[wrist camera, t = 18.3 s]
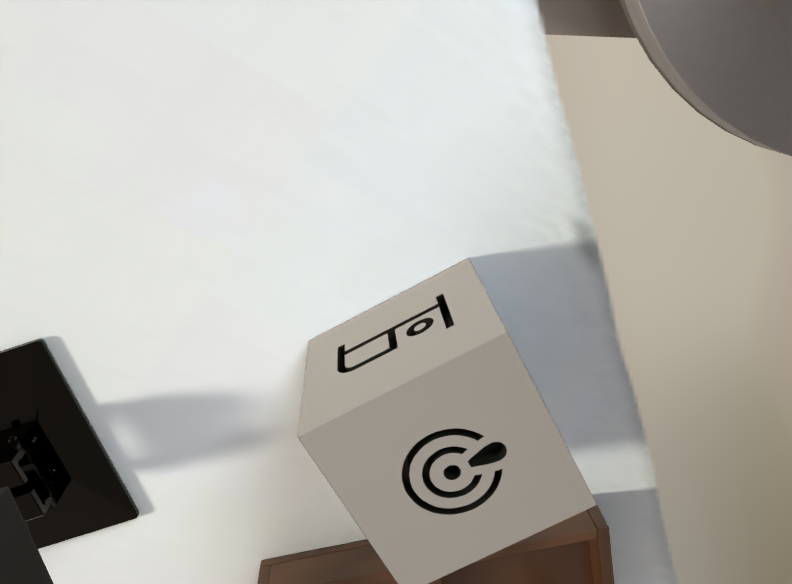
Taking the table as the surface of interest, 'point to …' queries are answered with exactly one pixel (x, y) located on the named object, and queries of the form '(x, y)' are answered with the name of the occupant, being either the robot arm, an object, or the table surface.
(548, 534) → the grid
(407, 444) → the icon cube
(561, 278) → the table surface
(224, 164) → the table surface
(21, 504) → the build plate
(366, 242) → the table surface
